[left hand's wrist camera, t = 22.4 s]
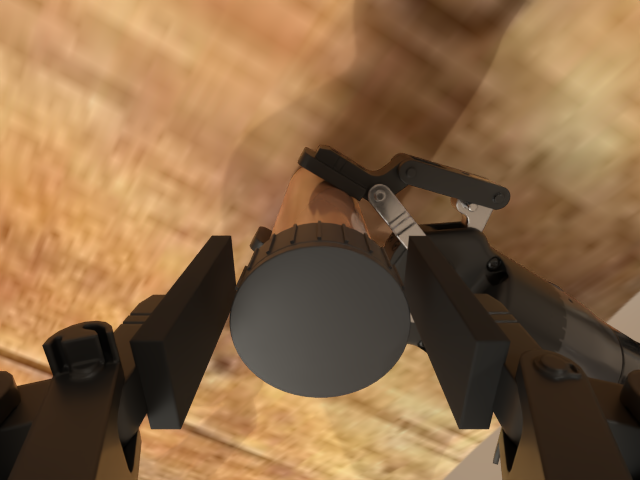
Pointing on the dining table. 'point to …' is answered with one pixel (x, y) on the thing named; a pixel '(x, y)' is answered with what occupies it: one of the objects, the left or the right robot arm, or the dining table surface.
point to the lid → (320, 311)
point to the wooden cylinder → (317, 204)
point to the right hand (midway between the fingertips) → (278, 198)
